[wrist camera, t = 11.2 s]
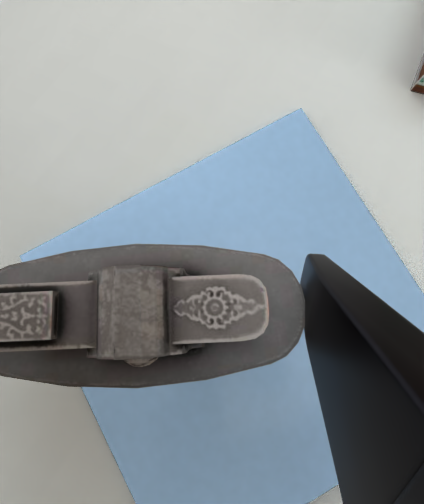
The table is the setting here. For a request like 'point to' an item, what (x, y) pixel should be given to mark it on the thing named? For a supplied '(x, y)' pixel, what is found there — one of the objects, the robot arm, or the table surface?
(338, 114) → the table surface
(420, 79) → the food container
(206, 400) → the blue square mat
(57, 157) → the table surface
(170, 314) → the lighter
